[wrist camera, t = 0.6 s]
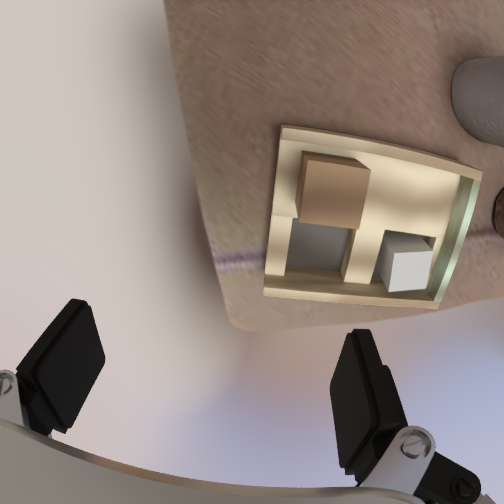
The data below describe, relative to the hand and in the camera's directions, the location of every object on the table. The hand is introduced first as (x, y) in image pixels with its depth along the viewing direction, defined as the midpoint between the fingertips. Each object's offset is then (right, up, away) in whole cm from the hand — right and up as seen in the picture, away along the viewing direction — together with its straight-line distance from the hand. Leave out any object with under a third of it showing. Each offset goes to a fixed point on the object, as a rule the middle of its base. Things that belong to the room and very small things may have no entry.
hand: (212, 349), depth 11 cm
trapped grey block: (+18, +3, +22) cm, 29 cm away
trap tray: (+13, +7, +21) cm, 26 cm away
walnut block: (+8, +10, +17) cm, 21 cm away
